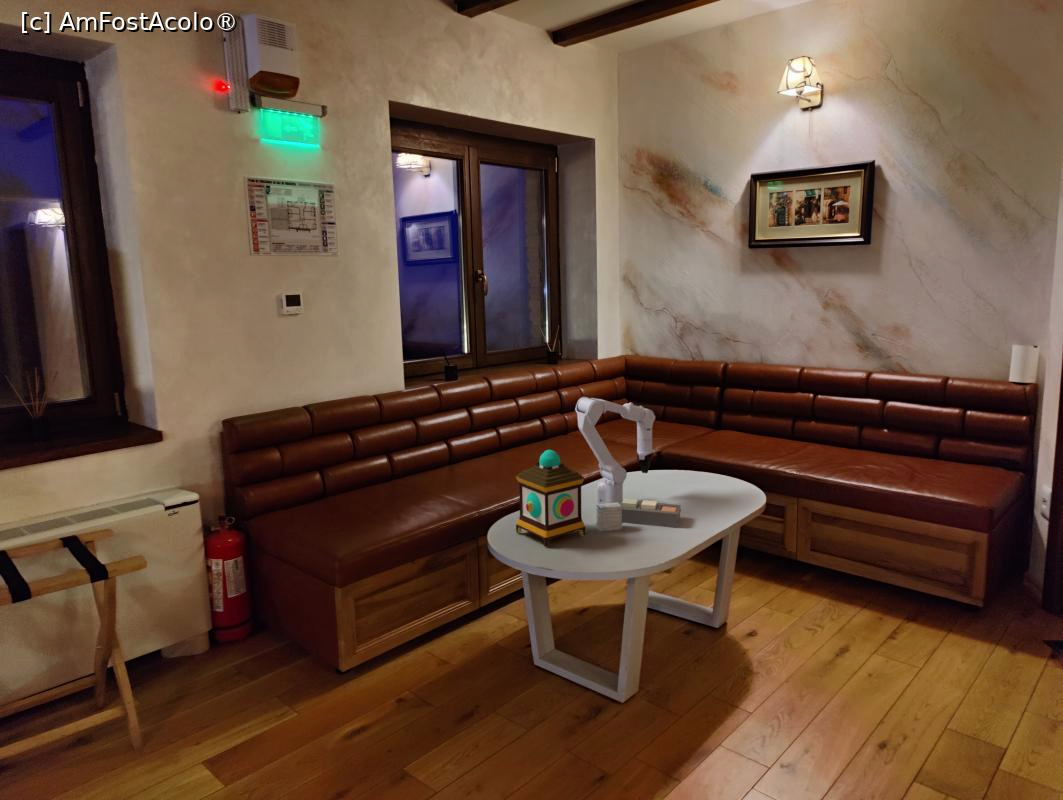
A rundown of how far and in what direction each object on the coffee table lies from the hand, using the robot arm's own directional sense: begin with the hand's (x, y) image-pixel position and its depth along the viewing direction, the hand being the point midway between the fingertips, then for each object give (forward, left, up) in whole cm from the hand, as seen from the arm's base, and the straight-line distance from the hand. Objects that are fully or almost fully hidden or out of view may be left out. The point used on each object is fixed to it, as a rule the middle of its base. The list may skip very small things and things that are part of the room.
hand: (645, 472), depth 286 cm
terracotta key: (+13, -24, -9) cm, 29 cm away
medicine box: (-6, -36, -11) cm, 39 cm away
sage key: (-1, -24, -7) cm, 25 cm away
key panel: (+6, -24, -10) cm, 27 cm away
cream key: (+6, -24, -7) cm, 26 cm away
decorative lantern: (-24, -47, -11) cm, 54 cm away
